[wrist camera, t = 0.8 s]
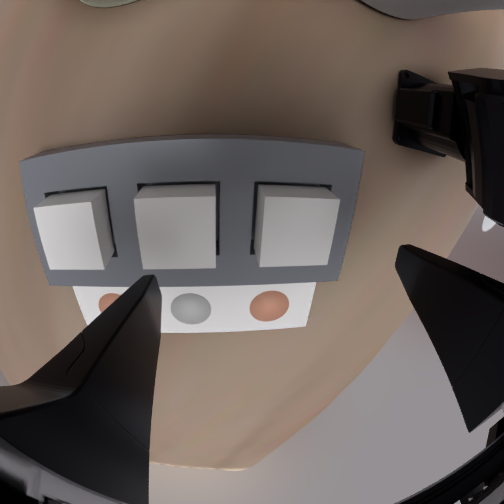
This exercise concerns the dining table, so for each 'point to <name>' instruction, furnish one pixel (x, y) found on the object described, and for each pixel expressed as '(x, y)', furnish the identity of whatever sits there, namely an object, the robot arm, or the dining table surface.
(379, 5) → the cylinder vase
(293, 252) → the button
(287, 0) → the dining table surface
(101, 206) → the button
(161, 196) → the button middle
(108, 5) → the can
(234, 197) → the button board
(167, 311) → the pattern card
